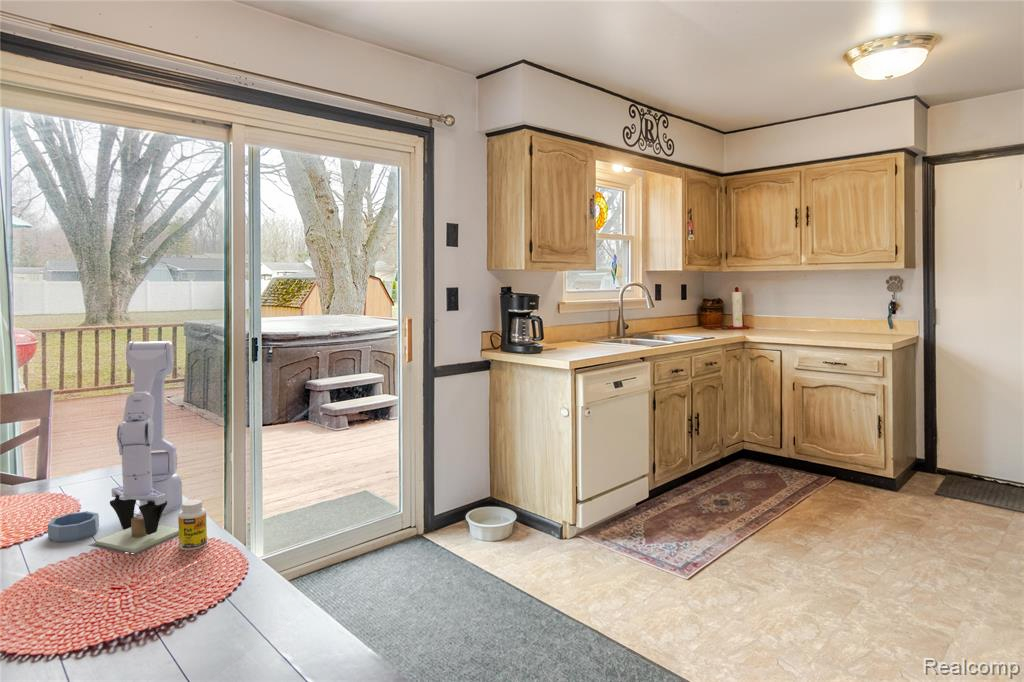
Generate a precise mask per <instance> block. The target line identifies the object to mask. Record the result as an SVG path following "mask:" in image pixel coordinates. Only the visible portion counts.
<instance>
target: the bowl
mask: <svg viewBox="0 0 1024 682" xmlns="http://www.w3.org/2000/svg"><path fill="white" fill-rule="evenodd" d="M99 518H100V517H99V513H97V512H92V511H88V510H87V511H86V510H85V511H79V512H77V511H76V512H69V513H66V514H64V515H59V516H57V517H53V518H52V519H51V520H50V521H49V522H48V524H47V535H48V537H47V538H48V539H50V540H51V541H52V542H56V543H68V542H74V541H80V540H83V539H86V538H89V537H92V536H93V535H95V534H96V533H97V532H98V529H99V527H100V521H99Z"/></svg>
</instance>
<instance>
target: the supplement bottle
mask: <svg viewBox="0 0 1024 682" xmlns="http://www.w3.org/2000/svg"><path fill="white" fill-rule="evenodd" d="M177 517H178V518H177V519H178V520H177V521H178V529H179V536H178V546H179V548H180V550H184V551H191V550H192V551H193V550H197V549H200V548H202V547H204V546H206V545H207V543H208V536H207V535H208V534H207V531H208V530H207V528H208V527H207V509H205V508H204V507H203V501H202V500H201V499H189V500H185V501H182V507H181V511H179V512H178V515H177Z"/></svg>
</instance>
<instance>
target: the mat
mask: <svg viewBox="0 0 1024 682" xmlns="http://www.w3.org/2000/svg"><path fill="white" fill-rule="evenodd" d="M176 538H179V534H177V535H175V536H173V537H170V538H168V539H166V540H163V541H161V542H159V543H157V544H154V545H152V546H150V547H147V548H145V549H143V550H141V551H138V552H136V553H134V554H131V553H132V552H129V554H130V555H129V556H132V555H133V557H135V556H137V555H139V554H141V553H144V552H146V551H148V550H150V549H153V548H155V547H157V546H159V545H163V544H164V543H166V542H168V541H169V542H170V541H171V540H173V539H176ZM88 546H89V547H94V548H98V549H102V550H107V551H111V552H114V553H115V552H116V553H119V554H123V553H125V552H128V551H124V550H119V549H115V548H110V547H106V546H102V545H97V544H96V542H93V543H91V544H88Z"/></svg>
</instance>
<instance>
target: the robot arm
mask: <svg viewBox="0 0 1024 682" xmlns="http://www.w3.org/2000/svg"><path fill="white" fill-rule="evenodd" d="M125 359H126V364H128V366H129V369H130V370H131V371H132V373H133V389H132V390H133V391H132V393H131V394H129V395H128V396H127V397H126V401H125V406H124V413H123V419H122V423H119V424H118V426H117V429H116V442H117V446H118V453H119V456H121V472H122V473H121V475H122V486H120V485H119V486H116V487H114V488H111V498H114V499H112V500H110V501H109V505H110V507H112V509H113V510H114V511H115V514H116V515H117V518H118V520H119V523H120V525H121V528H122V530H125V529H128V528H130V527H131V518H133V517H135V515H136V516H141V515H143V518H144V522H145V530H146V533H147V535H150V534H152V533H155V532H157V528H158V524H159V523H160V520H161V517H162V515H165V514H167V513H169V512H173V511H176V510H178V509H180V508H181V509H182V503H183V484H182V479H181V478H180V476H179V475H178V473H177V470H178V457H177V456H178V455H177V447H176V446H175V444H173V443H172V442H170V441H169V440H166V438H165V381H166V378H167V376H168V375H170V374H172V373H174V368H175V365H174V364H175V348H174V344H173V343H172V342H171V340H166V341H129V343H127V345H126V348H125ZM152 451H153V452H152ZM155 451H156V452H155ZM137 501H138V503H139V504H138V505H139V506H138V509H137V510H135V507H136V503H137ZM159 525H160V524H159Z"/></svg>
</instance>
